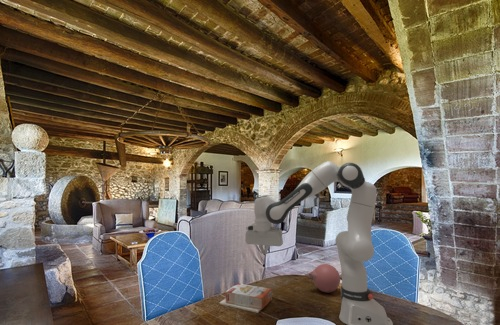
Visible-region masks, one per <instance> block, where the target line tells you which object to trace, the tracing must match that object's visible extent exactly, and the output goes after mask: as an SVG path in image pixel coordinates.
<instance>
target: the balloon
mask: <svg viewBox="0 0 500 325" xmlns="http://www.w3.org/2000/svg"><path fill="white" fill-rule="evenodd" d="M304 276H306V277H307V278H308V279H311V280H312V281H313V284H314V285H315V288H316V289H318V290H319V292H323V293H333V292H335V291H336V290H338V288H339V287H340V284H341V276H340V272H339V271H338V269H336V267H334V265H332V264H329V263H321V264H318V266H316V267H315V268H314V269H313V271H310V272H309V273H305V274H304Z"/></svg>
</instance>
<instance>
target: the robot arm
mask: <svg viewBox="0 0 500 325" xmlns="http://www.w3.org/2000/svg"><path fill="white" fill-rule="evenodd" d="M335 182H336V183H338V184H339V185H341V186H343V187H344V188H347V189H350V190H351V196H350V202H349V205H348V210H347V215H346V221H347V230H343V231H340V232H339V233H337V235H336V237H335V245H336V247H337V253H338V258H339V263H340V270H341V286H340V297H341V305H340V306H341V307H340V312H339V315H338V318H339V320H340V321H341V322H342V323H343V324H346V325H394V322H393V321H392V319H391V318H390V317H388V316H387V312H386V309H385V307H384V306H382V305H381V304H380V303H379V302H378V301H377V300H375V299H374V295H373V291H372V289H369V288H368V273H367V269H366V267H365V264H364V262H368V261H370V260H371V259H373V256H374V255H375V254H374V253H375V247H374V245H373V242H372V240H373V238H372V224H373V219H374V218H373V217H374V213H375V208H376V202H377V187H376V186H375V185H374V184H373V183H371V182H369V181H366V178H365V176H364V174H363V170H362V168H361V167H360V166H359V165H358V164H357V163H355V162H346V163H344V164H342V165H341V166H338V165H337V164H336V163H334V162H333V161H332V160H331V161H330V160H327V161H324V162H322V163H320V164H319V165H318V166H316V167H315V168H313V169H312V170H311V171H310V172H308V174H307V175H305V177H303V179H301V182H299V184H298V185H297V186H296V188H295V189H294V190H293V191H291V192H290V193H289V194H288V195H286V196H285V197H284V198H282V200H277V199H274V198H272V197H271V196H270V195H267V194H266V195H262V196H258V197H256V199H255V200H254V205H253V206H254V208H253V209H254V210H253V211H254V212H253V213H254V216H255V218H254V223H252V224H249V225H246V232H245V240H244V242H245V243H246V244H247V245H255V246H257V245H258V249H259V250H260V254H261V255H267V254H268V250H269V249H270V246H271V247H282V246H283V244H284V241H283V240H284V239H283V230H282V229H281V228H280V227H275V226H274V227H273V226H272V224H273V225H279V224H281V223H283V222H284V221H285V220H286V219H287V217H288V216H289V214H290V211H291V210H293V209H294V208H295V207H297V206H298V205H299V204H300V203H302V202H303V201H304V200H306V199H308V198H310V197H313V196H315V195H318V194H319V193H321V192H322V191H323V190H326V188H328V187H329V186H330V185H332V184H333V183H335ZM263 247H264V248H265V249H264V248H263Z"/></svg>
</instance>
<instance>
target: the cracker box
mask: <svg viewBox="0 0 500 325" xmlns="http://www.w3.org/2000/svg"><path fill="white" fill-rule="evenodd" d="M272 292H273V291H272V288H268V287H262V286H256V285H249V284H245V283H239V282H238V283H235V285H233V286H231V287H230V288H228V289H227V290H225V298H226V302H227V303H232V304H237V305H242V306H247V307H252V308H257V309H261V310H263V309H264V308H265V307H266V306H267V305H268V304H269V303H270V301H272V300H273V296H272V295H273V294H272Z"/></svg>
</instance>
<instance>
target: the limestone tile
mask: <svg viewBox="0 0 500 325" xmlns="http://www.w3.org/2000/svg"><path fill="white" fill-rule="evenodd" d="M219 305H221V306H222V305H223V306H227V307H231V308H236V309H239V310H244V311H247V312H253V313H257V314H258V313H259V312H260V311H262V309H257V308H252V307H247V306H242V305H237V304H232V303H227V302H226V297H225V298H224V299H223V300H221V301H219Z"/></svg>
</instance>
